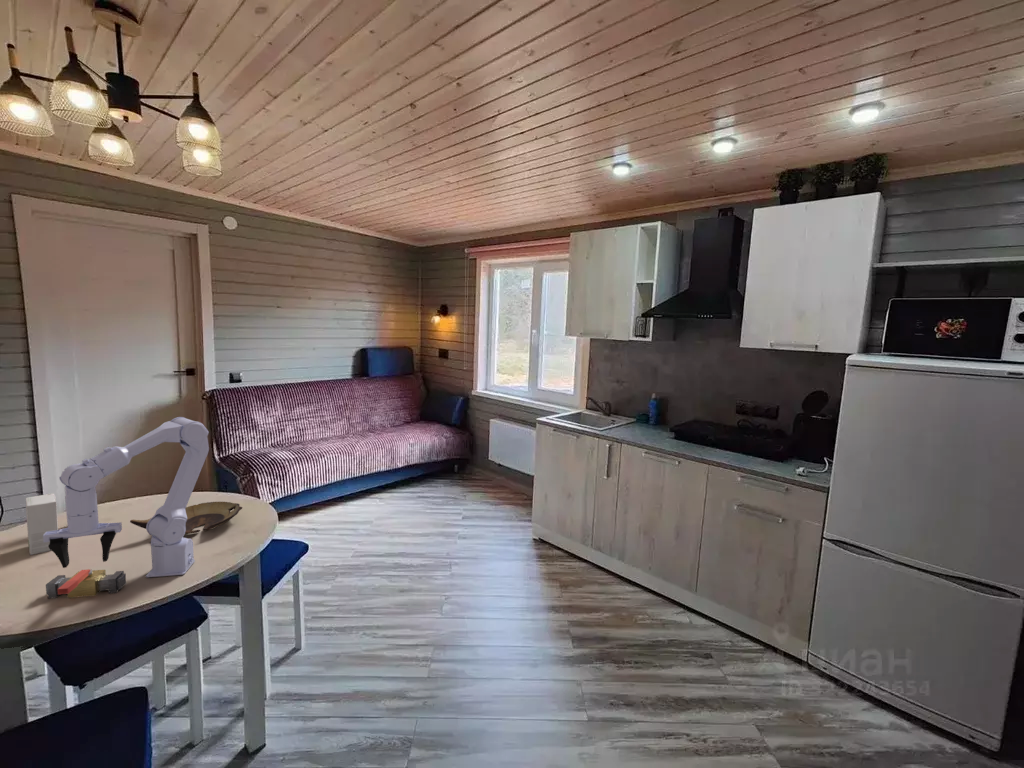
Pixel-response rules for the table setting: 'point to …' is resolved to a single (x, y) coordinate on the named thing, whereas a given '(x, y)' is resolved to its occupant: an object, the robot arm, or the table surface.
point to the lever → (74, 581)
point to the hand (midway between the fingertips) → (86, 562)
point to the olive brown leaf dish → (204, 515)
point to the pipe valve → (88, 584)
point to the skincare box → (40, 521)
